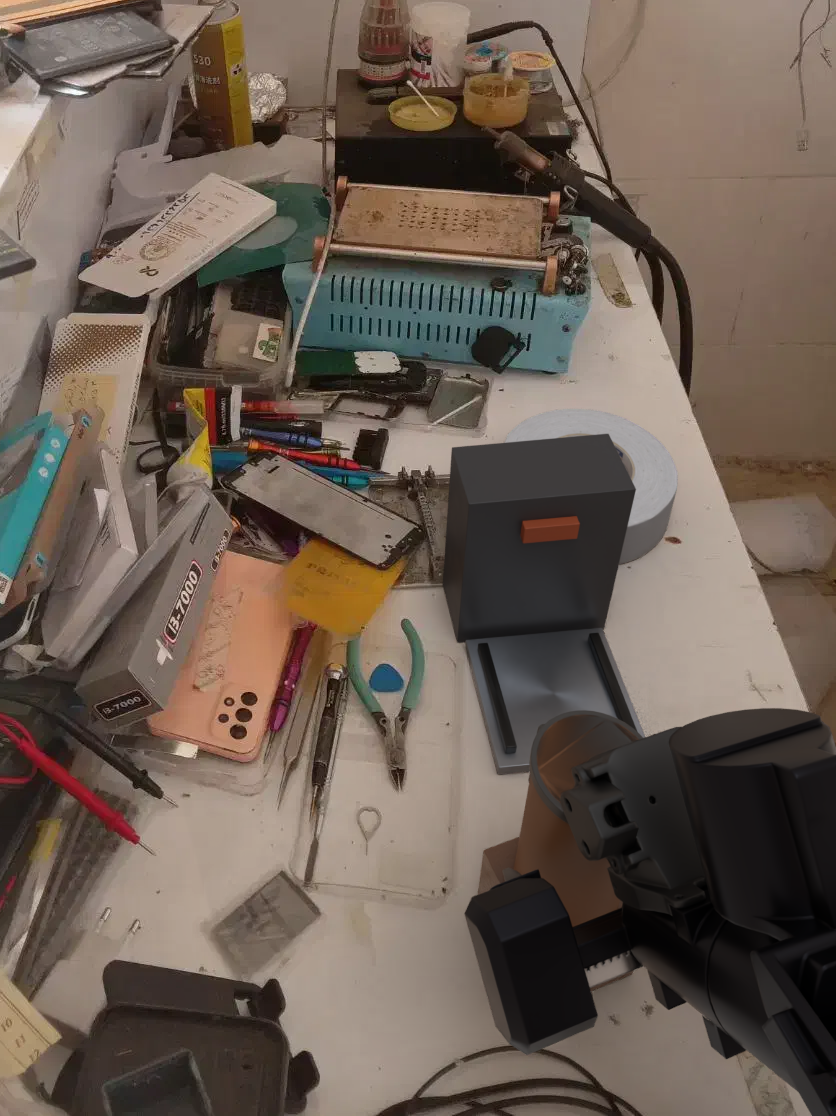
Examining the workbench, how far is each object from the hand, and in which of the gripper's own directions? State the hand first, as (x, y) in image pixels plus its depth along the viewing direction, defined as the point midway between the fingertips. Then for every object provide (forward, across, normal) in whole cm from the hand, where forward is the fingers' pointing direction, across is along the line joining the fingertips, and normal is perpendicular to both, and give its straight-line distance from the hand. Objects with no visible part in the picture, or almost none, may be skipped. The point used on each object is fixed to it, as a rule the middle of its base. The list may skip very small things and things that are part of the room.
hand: (583, 848), depth 55 cm
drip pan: (+20, -9, -2) cm, 22 cm away
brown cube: (+9, 0, +8) cm, 13 cm away
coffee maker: (+26, -11, -8) cm, 29 cm away
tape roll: (+32, -22, -14) cm, 41 cm away
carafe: (+4, 0, +4) cm, 6 cm away
